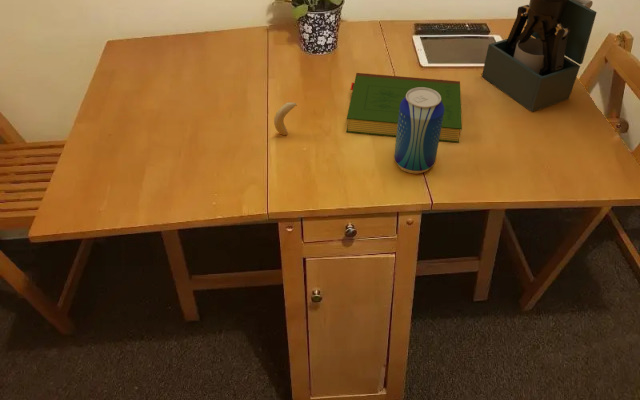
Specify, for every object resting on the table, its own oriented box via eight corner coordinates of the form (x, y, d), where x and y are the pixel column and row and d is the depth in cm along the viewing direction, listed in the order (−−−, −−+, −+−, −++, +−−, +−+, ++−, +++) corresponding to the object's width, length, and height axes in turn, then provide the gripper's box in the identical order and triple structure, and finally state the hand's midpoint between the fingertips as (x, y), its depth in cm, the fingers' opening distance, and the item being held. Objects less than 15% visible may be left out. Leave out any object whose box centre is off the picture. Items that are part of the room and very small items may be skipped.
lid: (594, 13, 121) (614, 4, 123) (534, -18, 133) (553, -25, 134) (579, 64, 130) (598, 56, 132) (524, 31, 142) (543, 24, 143)
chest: (531, 112, 133) (541, 78, 127) (481, 76, 144) (488, 44, 138) (568, 99, 137) (580, 65, 131) (517, 65, 148) (525, 33, 142)
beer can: (395, 147, 123) (403, 82, 112) (435, 152, 122) (447, 87, 111) (391, 173, 117) (398, 106, 106) (433, 178, 116) (445, 111, 105)
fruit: (269, 130, 126) (270, 135, 125) (278, 100, 120) (280, 106, 119) (286, 131, 127) (288, 137, 126) (296, 102, 121) (298, 107, 120)
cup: (536, 97, 135) (548, 59, 129) (502, 87, 139) (511, 49, 132) (547, 81, 141) (559, 44, 134) (514, 72, 144) (524, 34, 137)
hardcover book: (457, 95, 138) (459, 81, 135) (458, 142, 124) (461, 128, 122) (352, 86, 141) (353, 72, 138) (342, 131, 127) (343, 117, 125)
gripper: (504, -23, 130) (484, 67, 145) (575, 15, 116) (545, 110, 131) (529, -29, 132) (507, 60, 148) (602, 7, 119) (569, 101, 134)
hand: (525, 83), depth 140 cm, fingers closed on cup, 8 cm apart
